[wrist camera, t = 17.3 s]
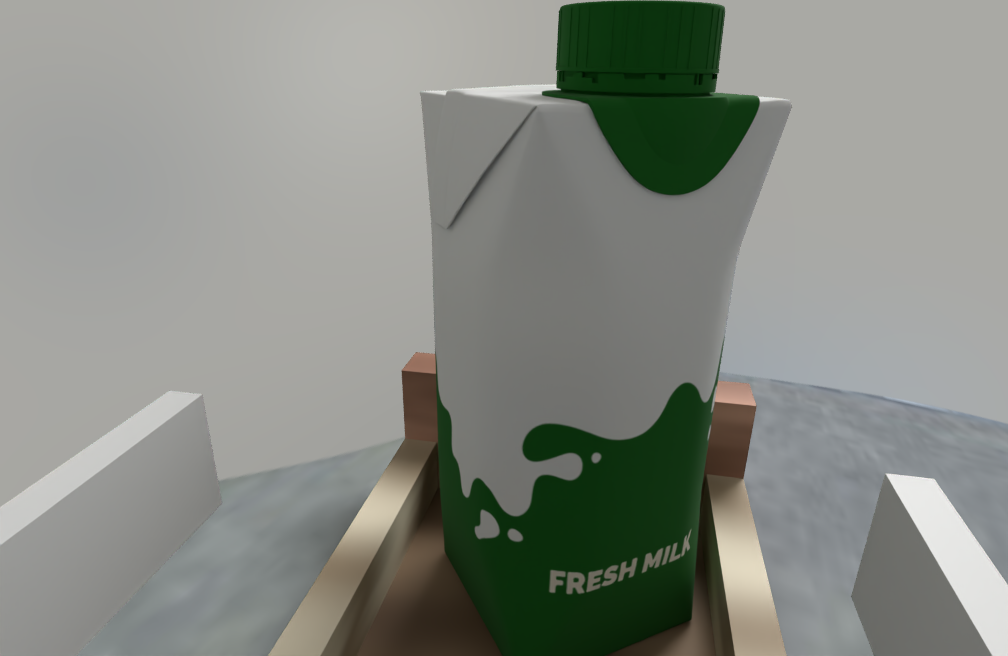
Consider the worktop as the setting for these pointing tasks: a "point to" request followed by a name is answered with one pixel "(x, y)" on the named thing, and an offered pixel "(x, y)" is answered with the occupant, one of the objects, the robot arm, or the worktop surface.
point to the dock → (444, 600)
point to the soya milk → (587, 320)
